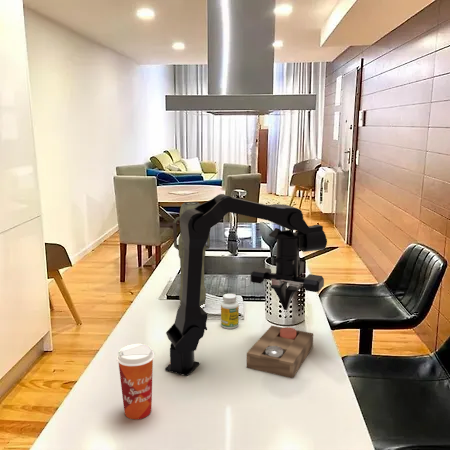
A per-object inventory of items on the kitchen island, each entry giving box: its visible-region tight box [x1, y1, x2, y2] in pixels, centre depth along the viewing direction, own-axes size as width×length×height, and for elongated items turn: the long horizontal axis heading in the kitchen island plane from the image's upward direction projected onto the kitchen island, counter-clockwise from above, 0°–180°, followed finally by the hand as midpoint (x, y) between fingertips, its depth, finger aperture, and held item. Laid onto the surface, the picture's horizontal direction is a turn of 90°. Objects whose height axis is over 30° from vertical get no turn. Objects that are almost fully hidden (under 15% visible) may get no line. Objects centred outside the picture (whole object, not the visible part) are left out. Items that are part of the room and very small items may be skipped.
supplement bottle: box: [220, 293, 240, 330], centre depth 142 cm, size 5×5×10 cm
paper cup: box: [116, 343, 156, 420], centre depth 99 cm, size 8×8×14 cm
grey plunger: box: [264, 346, 284, 358], centre depth 118 cm, size 4×4×3 cm
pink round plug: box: [280, 326, 297, 340], centre depth 128 cm, size 4×4×3 cm
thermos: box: [172, 201, 211, 306], centre depth 155 cm, size 9×12×35 cm
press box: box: [246, 325, 314, 379], centre depth 123 cm, size 18×12×4 cm, turn 154°
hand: (285, 309), depth 127 cm, fingers closed
